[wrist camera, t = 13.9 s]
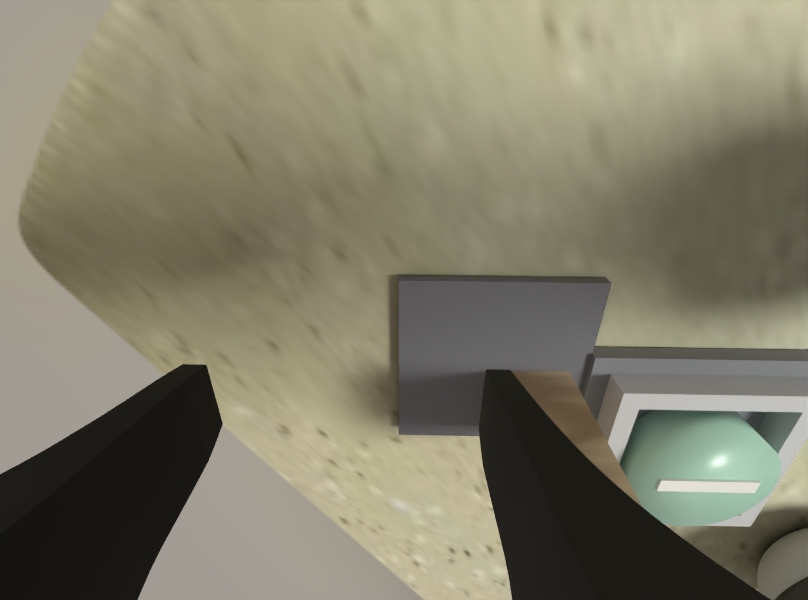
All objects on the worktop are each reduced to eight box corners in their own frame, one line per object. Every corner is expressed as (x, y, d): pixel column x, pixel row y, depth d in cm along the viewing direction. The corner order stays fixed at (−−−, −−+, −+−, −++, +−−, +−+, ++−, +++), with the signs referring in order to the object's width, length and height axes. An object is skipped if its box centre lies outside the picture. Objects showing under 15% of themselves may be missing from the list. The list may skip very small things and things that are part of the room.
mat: (606, 278, 20) (611, 283, 19) (566, 430, 24) (569, 437, 24) (398, 275, 20) (398, 280, 19) (399, 426, 25) (398, 434, 24)
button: (766, 400, 22) (809, 439, 19) (718, 488, 25) (750, 530, 23) (633, 398, 22) (659, 436, 19) (602, 486, 25) (622, 527, 23)
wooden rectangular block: (570, 370, 22) (661, 537, 14) (557, 427, 24) (630, 603, 16) (492, 370, 22) (537, 535, 14) (486, 427, 24) (522, 601, 16)
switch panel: (819, 350, 21) (866, 380, 19) (732, 500, 27) (760, 537, 25) (588, 346, 22) (607, 376, 19) (549, 496, 27) (561, 532, 25)
